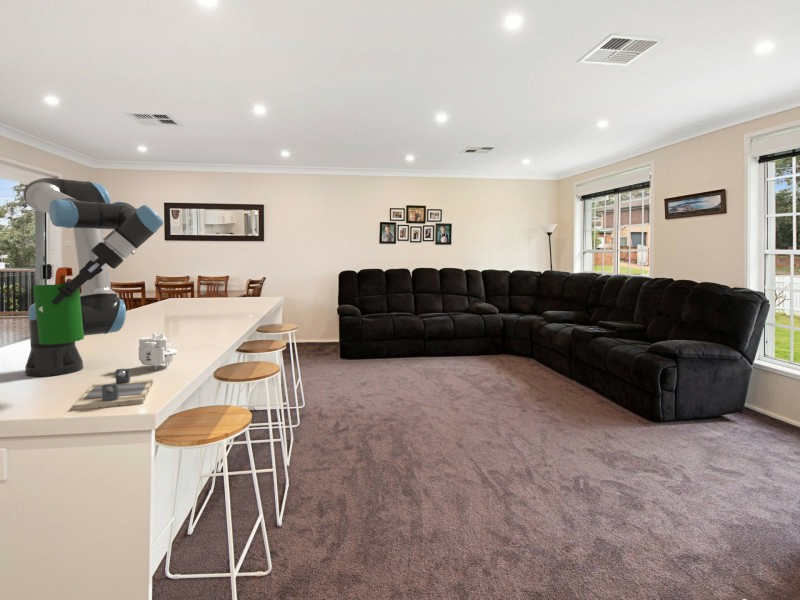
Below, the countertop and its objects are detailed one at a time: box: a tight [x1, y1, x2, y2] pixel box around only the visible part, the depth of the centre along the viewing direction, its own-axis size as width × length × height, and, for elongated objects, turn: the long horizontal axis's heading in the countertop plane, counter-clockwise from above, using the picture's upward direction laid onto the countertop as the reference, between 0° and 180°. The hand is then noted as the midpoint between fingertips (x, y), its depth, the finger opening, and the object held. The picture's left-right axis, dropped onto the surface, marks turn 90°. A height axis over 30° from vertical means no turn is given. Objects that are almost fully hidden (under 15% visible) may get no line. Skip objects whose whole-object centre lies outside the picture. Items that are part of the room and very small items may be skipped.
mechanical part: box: [138, 332, 179, 370], centre depth 156 cm, size 11×12×12 cm
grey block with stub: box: [115, 368, 131, 384], centre depth 133 cm, size 3×3×4 cm
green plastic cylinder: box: [32, 266, 85, 345], centre depth 124 cm, size 10×9×20 cm
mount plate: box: [73, 378, 154, 411], centre depth 126 cm, size 21×15×1 cm
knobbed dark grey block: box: [102, 383, 119, 401], centre depth 118 cm, size 3×3×4 cm
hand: (45, 311), depth 122 cm, fingers closed on green plastic cylinder, 7 cm apart
